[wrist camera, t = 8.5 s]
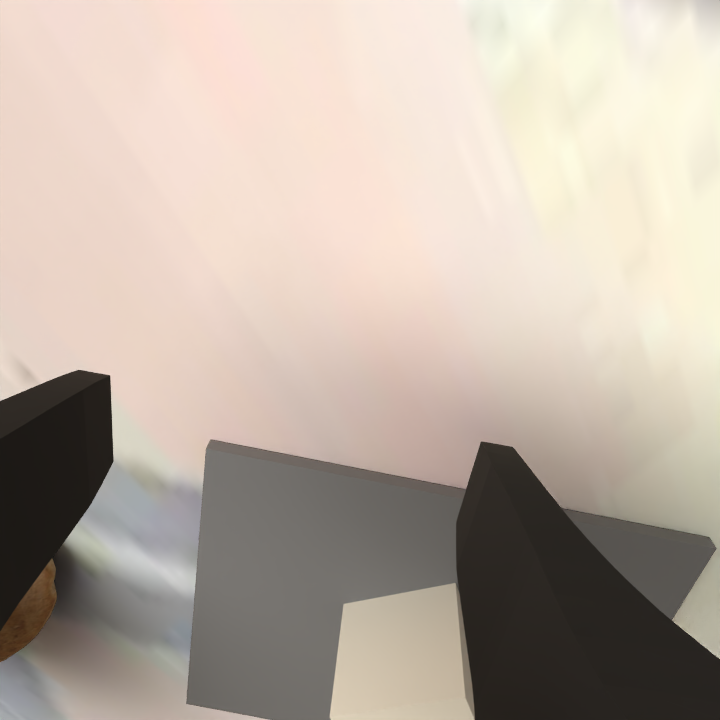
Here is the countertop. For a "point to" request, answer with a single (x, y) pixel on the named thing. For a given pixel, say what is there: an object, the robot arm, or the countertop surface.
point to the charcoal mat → (345, 569)
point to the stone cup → (29, 614)
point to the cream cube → (403, 659)
